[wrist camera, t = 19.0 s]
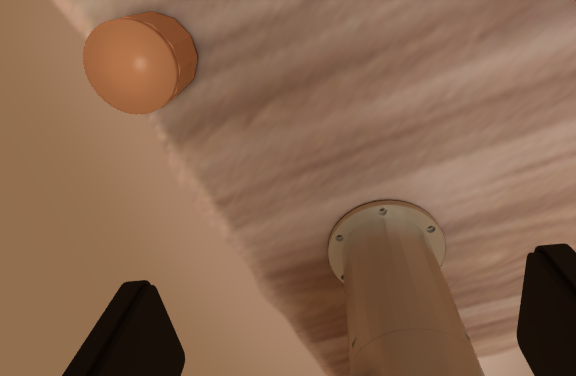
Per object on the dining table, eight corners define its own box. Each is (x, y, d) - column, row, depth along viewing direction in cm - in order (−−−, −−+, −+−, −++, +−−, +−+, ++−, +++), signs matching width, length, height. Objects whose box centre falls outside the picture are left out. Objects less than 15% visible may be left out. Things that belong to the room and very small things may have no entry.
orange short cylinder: (206, 86, 36) (188, 104, 30) (137, 101, 37) (107, 121, 31) (180, 4, 32) (154, 8, 27) (105, 23, 34) (66, 31, 28)
